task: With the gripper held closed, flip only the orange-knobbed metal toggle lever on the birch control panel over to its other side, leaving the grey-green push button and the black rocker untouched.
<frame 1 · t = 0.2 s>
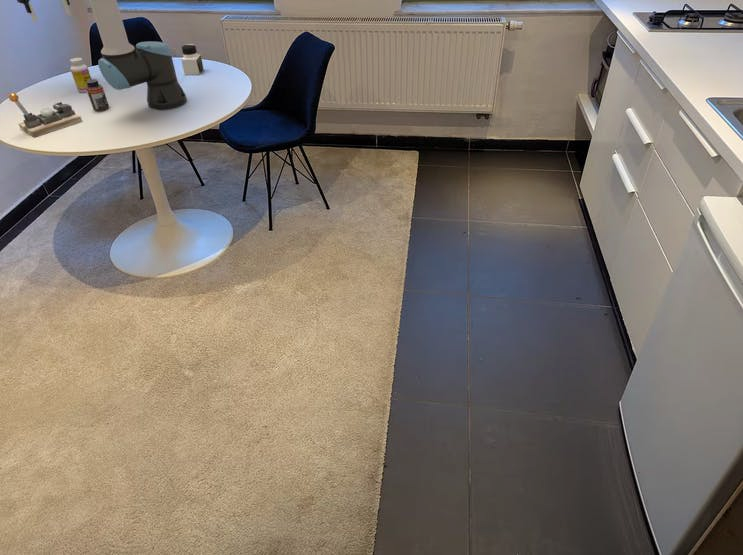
hand: (52, 18, 219), 28 cm above the table, fingers open, 13 cm apart
lever: (20, 106, 194), point 10 cm above the table, hinge at -15.0°
rocker: (62, 107, 205), point 5 cm above the table, hinge at 12.0°
medicine bottle: (194, 73, 248), on the table
supplement bottle 2: (101, 109, 216), on the table
button: (47, 113, 202), point 4 cm above the table, slide at 0.0 cm
supplement bottle: (86, 90, 234), on the table
panel: (51, 125, 204), on the table
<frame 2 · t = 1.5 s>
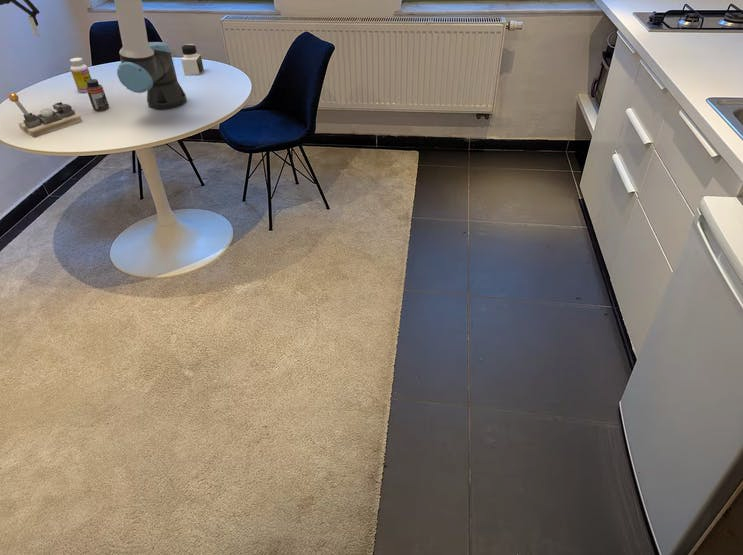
hand: (18, 40, 197), 27 cm above the table, fingers open, 13 cm apart
nothing on the table moved.
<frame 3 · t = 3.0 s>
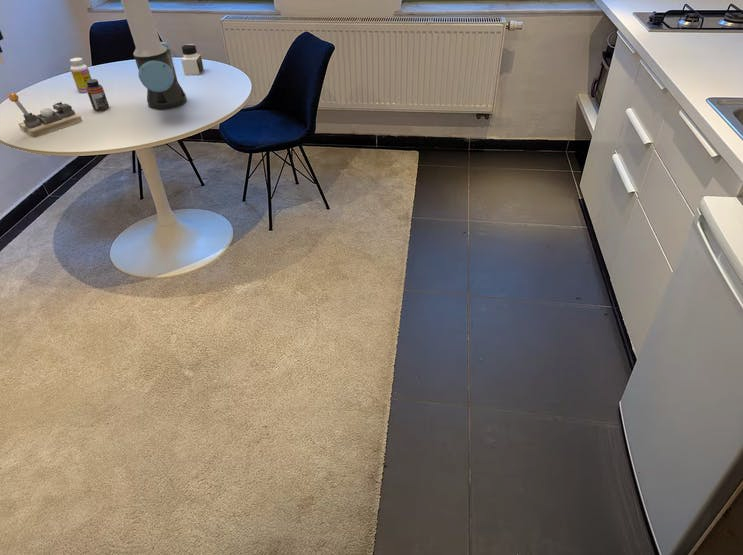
nothing on the table moved.
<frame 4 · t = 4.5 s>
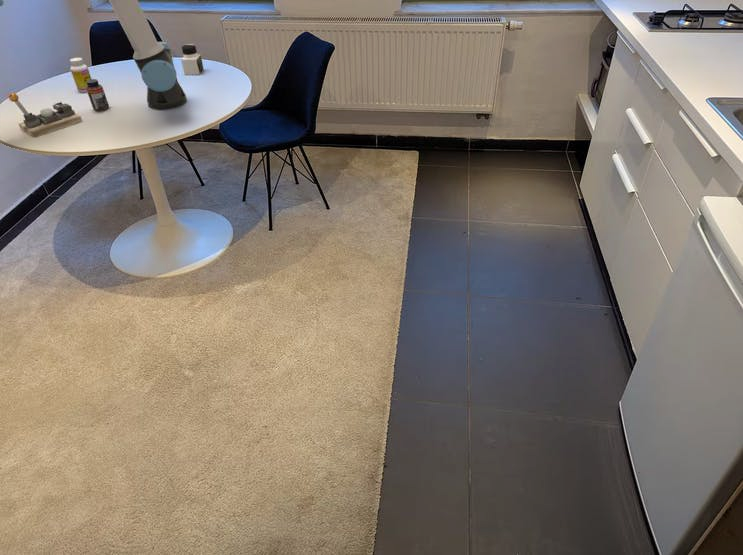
nothing on the table moved.
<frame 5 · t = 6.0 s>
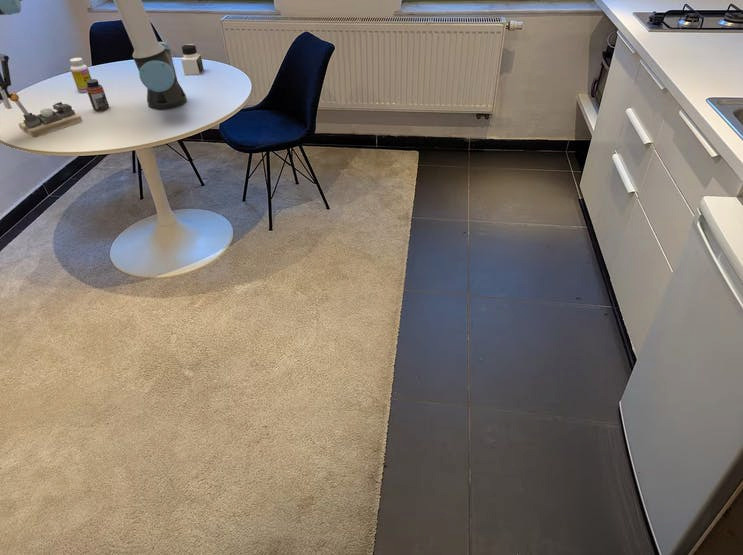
hand: (8, 107, 191), 10 cm above the table, fingers closed
lever: (21, 106, 194), point 10 cm above the table, hinge at -14.0°, touching gripper
everything else where it was.
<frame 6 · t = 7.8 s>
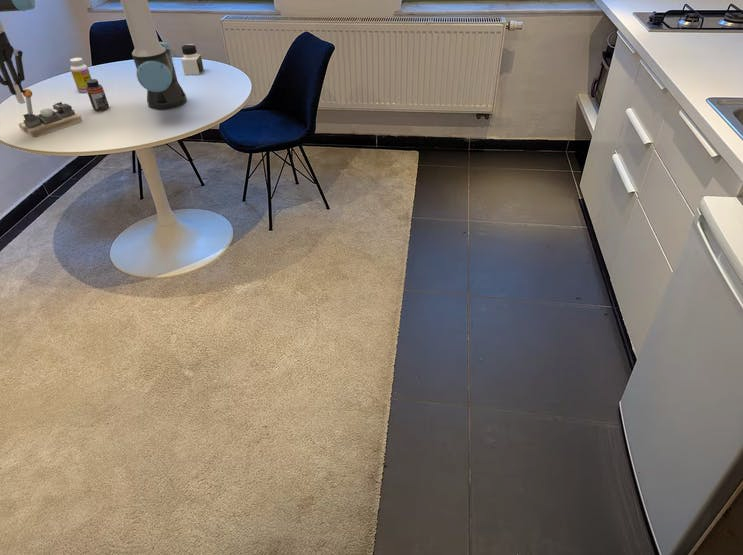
hand: (21, 102, 194), 11 cm above the table, fingers closed
lever: (29, 104, 196), point 10 cm above the table, hinge at 14.6°
everything else where it was.
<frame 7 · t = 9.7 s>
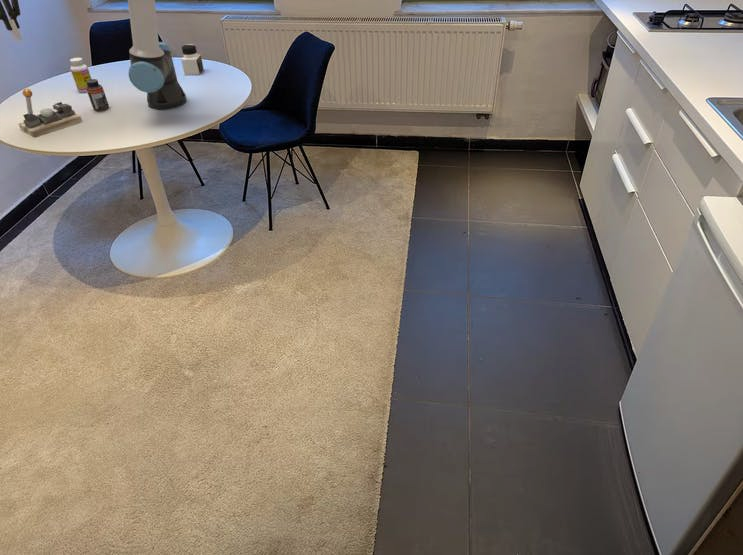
hand: (18, 39, 188), 30 cm above the table, fingers closed
nothing on the table moved.
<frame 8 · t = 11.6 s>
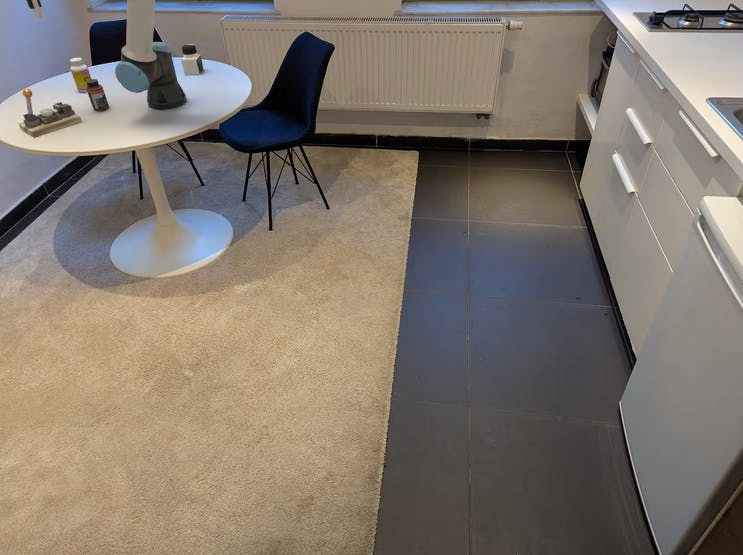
hand: (39, 17, 193), 34 cm above the table, fingers closed
nothing on the table moved.
at the end: lever at +15° (first picture: -15°); button slide at 0.0 cm; rocker at +12° (first picture: +12°) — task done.
